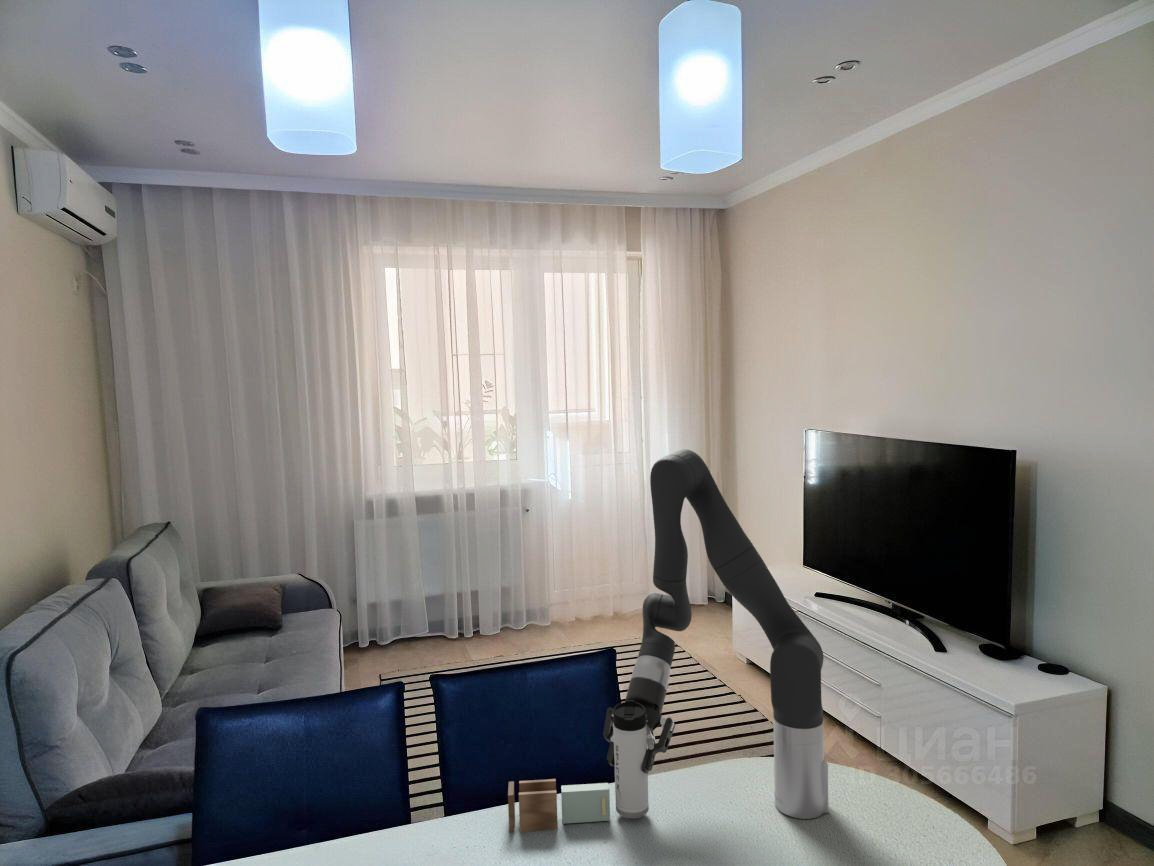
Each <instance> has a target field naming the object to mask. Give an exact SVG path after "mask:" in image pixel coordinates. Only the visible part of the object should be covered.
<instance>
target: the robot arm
mask: <svg viewBox="0 0 1154 866" xmlns="http://www.w3.org/2000/svg"><path fill="white" fill-rule="evenodd" d="M649 479H650V482H649V485H650V494H651V496H650V497H651V504H652V515H653V527H654V557H653V573H652V582H653V585H654V586H655V588H657V589H658V590H660V591H662V592H664V593H666V594H668V595H666V594H662V593H656V592H653V593H650V594H649V595H647V596H646V598H644V601H643V604H642V626H643V627H642V628H643V629H642V638H641V639H642V640H641V644H640V647H639V652H638V655H637V659H636V663H635V664H634V666H633V669H632V672H631V673H632V674H631V677H630V681H629V684H628V688H627V692H626V696H625V700H634V702H637V703H639V704H641V705H643V706H644V707H645V710H646V732H647V750H646V753H645V756H644V760H643V764H642V771H643V772H644V773H647V774H649V772H651V771H652V769H653V767H654V763H655V758H656V755H657V754H658V753H659V754H660V753H662V754H665V753H667V750H668V748H669V745H670V742H671V739H672V736H673V733H674V730H675V727H676V724H675V722H674V719H672V718H671V717H667V718H666V717H663V716H662V712H663V709H664V703H665V699H666V695H667V691H668V689H669V681H670V677H671V667H672V664H673V659H674V655H675V650H676V644H675V643H676V642H675V641H674V639H673V638H671V637H670V636H668V635H667V634H665V633H662V632H661V631H659V630H657V629H656V628H659V629H665V630H670V631H673V632H683V631H685V630H686V629H688V627H690V624H691V621H692V606H691V602H690V598H689V593H688V585H687V575H688V562H689V560H688V559H689V551H688V546H687V541H686V538H685V535H684V533H683V531H682V530H683V529H682V524H681V521H682V520H681V519H682V510H683V505H684V501H685V499H687V501H688V502H689V504H690V506H691V507H692V510H693V511H694V512H695V514H696V516H697V517H698V520H699V523H700V526H701V531H702V536H703V541H704V542H703V543H704V547H705V548H704V549H705V551H706V552H705V553H706V555H707V559H708V561H709V564H710V566H711V567H712V568H713V570H714V572H715V573H716V575H717V577H718V578H719V581H721V583H722V585H723V586H724V587H725V589H726V590H727V591H728V593H729V594H730V595H731V596H732V597H733V599H735V600H736V601H737V602H738V603H739V604H740V605H741V606H742V607H743V608H745V610H747V611H748V612H749V613H750V614H751V615H752V616H753V617H754V618H755V620H756V621H757V622H758V624H759V626H760V627H761V628H762V630H763V632H764V634H765V636H766V638H767V639H768V641H769V643H770V645H771V647H772V650H773V651H772V653H771V656H770V661H769V679H770V700H771V706H772V713H773V715H772V717H773V758H774V759H773V765H774V767H773V770H774V804H775V807H776V809H777V810H778V811H779V812H781V813H782V814H784V815H786V816H788V817H792V818H795V819H801V820H807V819H808V820H811V819H815V818H818V817H820V816H822V815H823V814H829V811H830V810H829V808H830V805H829V801H830V799H829V763H828V762H827V761H826V760H825V758H824V757H825V755H824V752H825V750H824V746H825V745H824V744H825V743H824V741H825V740H824V707H823V703H822V670H823V665H824V651H823V648H822V646H821V644H820V642H819V641H818V639H817V638H816V637H815V636H814V634H813V633H812V631H810V630H809V628H808V626H807V625H805V623H804V622H803V621H802V620H801V618H800V617H799V615H798V614H797V613H796V612H795V610H794V609H793V608H792V606H791V605H790V603H789V602H788V601H787V599H786V598H785V596H784V594H783V592H782V590H781V589H780V586H779V585H778V583H777V581H776V580H775V578H774V576H773V574H772V573H771V571H770V569H768V566H767V565H766V563H765V561H764V559H763V558H762V557H761V554H760V553H759V552H758V550H757V549H756V547H755V545H754V543H752V541H751V540H750V538H749V537H748V535H747V534H746V533H745V531H744V529H743V528H742V526H741V525H740V522H739V521H738V520H737V517H736V516H735V514H734V513H733V512H732V509H730V507H729V506H728V503H727V502H726V500H725V498H724V497H723V495H722V493H721V490H720V489H719V487H718V485H717V483H716V481H715V478H714V477H713V474H711V471H710V469H709V467H708V466H707V464H706V462H705V461H704V460H703V458H702V456H700V455H699V454H698V453H696V452H695V451H693V450H690V449H683V448H682V449H679V450H676V451H674V452H672V453H670V454H667V455H665V456H663V457H661V458H660V459H658V460H656V462H654V464H653V465H652V467H651V471H650V478H649ZM625 700H624V701H625ZM613 709H614V708H612V706H611V707H608V708H607V709H606V714H605V719H604V725H603V732H602V736H603V737H604V739H605V740H606V741H607V742H608V743H609V746H608V747H609V748H608V751H607V755H606V760H607V761H608V764H609V766H610V767H615V763H614V730H613V728H614V727H613V723H614V719H613ZM660 725H661V727H660V728H662V730H661V733H660V737H659V739H658V742H656V737H655V732H654V731H655V730H656V729H657V728H658V727H659V726H660Z"/></svg>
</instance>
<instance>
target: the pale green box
mask: <svg viewBox="0 0 1154 866" xmlns="http://www.w3.org/2000/svg"><path fill="white" fill-rule="evenodd" d="M560 786H561V787H560V789H561V790H560V791H561V793H560V794H561V820H562V824H576V823H593V822H595V823H596V822H604V821H605V822H606V821H607V822H608V821H611V802H610V800H611V799H610V797H611V796H610V786H609V782H598V783H597V782H596V783H586V784H584V783H582V784H567V785H566V784H565V785H560Z"/></svg>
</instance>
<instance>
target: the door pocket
mask: <svg viewBox="0 0 1154 866" xmlns="http://www.w3.org/2000/svg"><path fill="white" fill-rule="evenodd" d="M518 786H519V787H518V790H519V792H518V810H519V812H518V815H519V832H520V833H524V832H536V831H537V832H538V831H555V830H554V829H557V830H559V829H558V826H559V825H558V795H557V792H558V791H557V780H556V778H549V779H534V780H530V779H529V780H519V782H518ZM507 789H508V790H507V802H508V803H507V806H508V807H507V809H508V833H515V829H516V808H515V805H516V804H515V801H516V800H515V781H512V780H511V781H508V788H507Z"/></svg>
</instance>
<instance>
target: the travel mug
mask: <svg viewBox="0 0 1154 866" xmlns="http://www.w3.org/2000/svg"><path fill="white" fill-rule="evenodd" d="M612 709H613V719H614V723H613V727H614V728H613V730H614V733H613V734H614V763H615V766H614V790H615V791H614V792H615V811H616V813H617V814H618V815H620V816H621V817H624V818H627V819H639V818H642V817H644V816H645V815H647V814H648V812H649V809H650V807H649V777H648V776H649V775H648V774H649V773H648V774H647V773H644V772H643V771H642V764H643V760H644V756H645V753H646V750H648V745H647V732H646V710H645V707H644V706H643V705H641V704H639V703H637V702H634V700H624V701H622V702H620V703H618V704H616V705H615V706H614V707H613V708H612Z"/></svg>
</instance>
